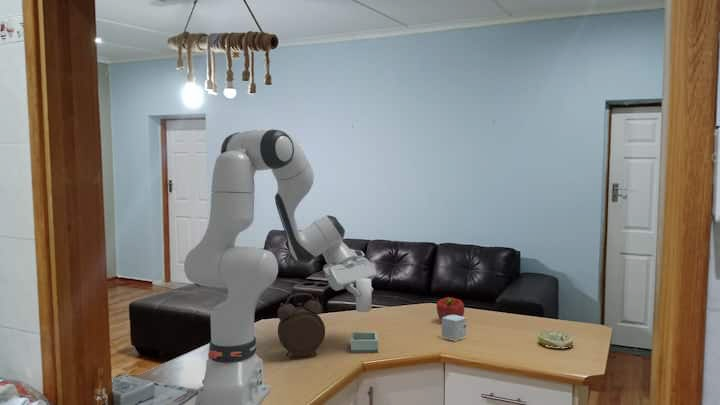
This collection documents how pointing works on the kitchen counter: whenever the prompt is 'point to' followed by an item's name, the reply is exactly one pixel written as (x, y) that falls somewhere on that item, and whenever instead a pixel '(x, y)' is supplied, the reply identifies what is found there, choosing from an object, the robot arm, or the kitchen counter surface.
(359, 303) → the cylinder
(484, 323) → the kitchen counter surface
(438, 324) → the kitchen counter surface
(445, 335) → the skincare box
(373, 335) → the teal open box
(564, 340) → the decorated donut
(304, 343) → the alarm clock
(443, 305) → the vegetable
